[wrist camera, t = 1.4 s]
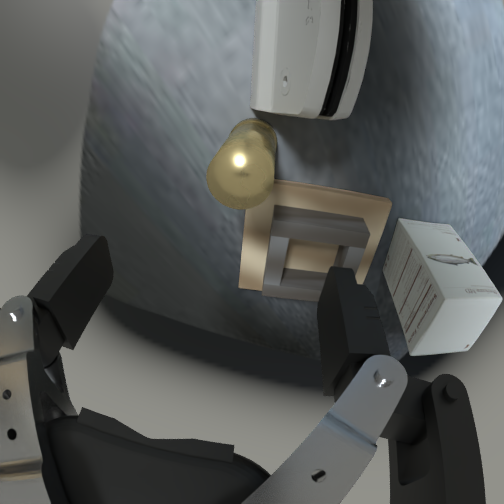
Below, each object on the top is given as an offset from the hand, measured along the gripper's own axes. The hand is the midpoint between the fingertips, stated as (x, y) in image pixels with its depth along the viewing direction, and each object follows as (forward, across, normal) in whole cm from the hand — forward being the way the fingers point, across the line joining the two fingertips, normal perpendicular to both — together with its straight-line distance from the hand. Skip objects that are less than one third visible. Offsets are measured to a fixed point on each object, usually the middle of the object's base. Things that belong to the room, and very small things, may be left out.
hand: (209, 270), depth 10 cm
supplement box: (+19, -20, +8) cm, 28 cm away
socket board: (+19, -7, +10) cm, 22 cm away
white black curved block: (+19, -3, -11) cm, 22 cm away
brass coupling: (+19, 0, 0) cm, 19 cm away
